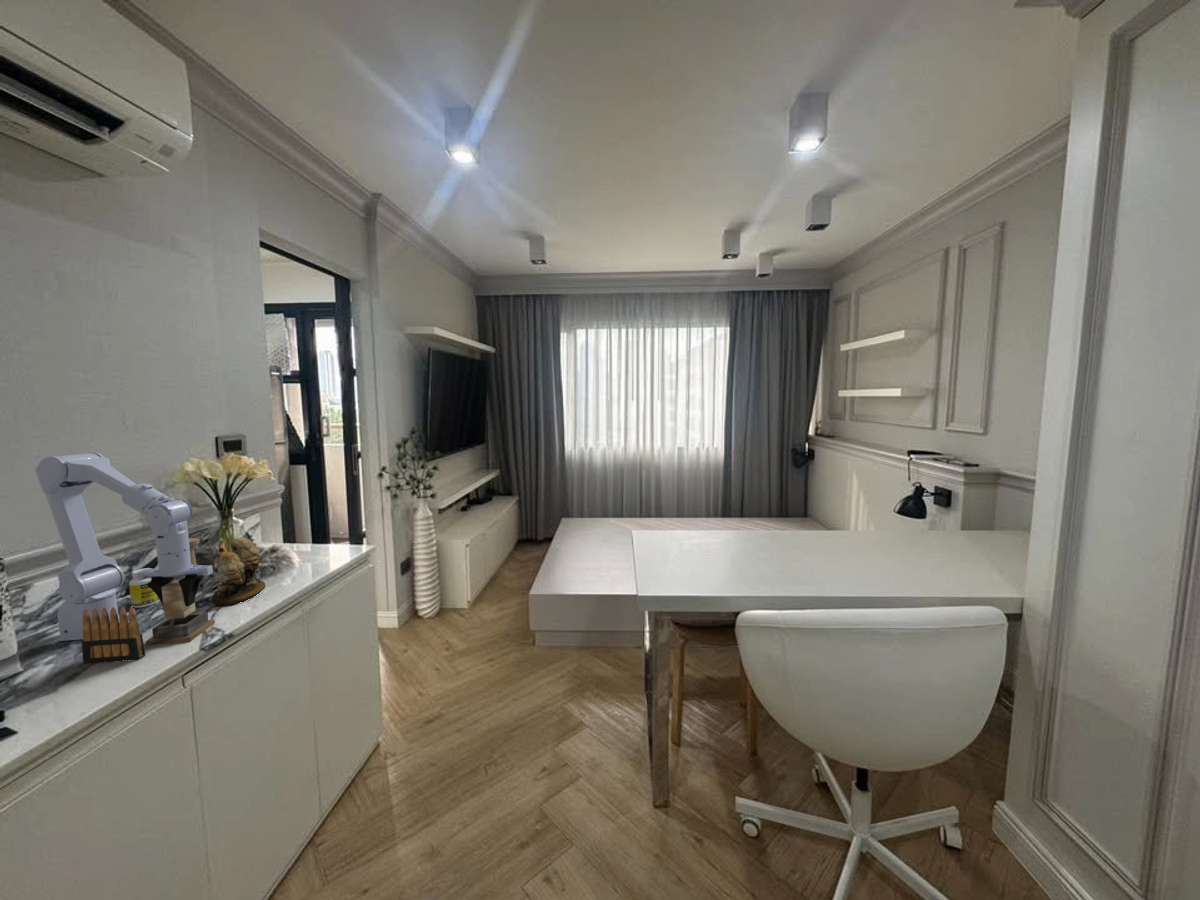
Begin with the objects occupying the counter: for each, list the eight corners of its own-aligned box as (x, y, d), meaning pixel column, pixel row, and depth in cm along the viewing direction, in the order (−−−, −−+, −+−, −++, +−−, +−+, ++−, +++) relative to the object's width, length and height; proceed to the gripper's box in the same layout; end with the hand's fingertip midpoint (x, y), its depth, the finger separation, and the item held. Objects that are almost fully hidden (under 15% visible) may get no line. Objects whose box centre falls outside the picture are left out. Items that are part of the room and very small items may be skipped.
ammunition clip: (82, 664, 99) (75, 611, 97) (91, 659, 101) (84, 607, 99) (138, 660, 100) (132, 607, 99) (145, 655, 102) (139, 604, 101)
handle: (195, 591, 137) (190, 542, 135) (172, 592, 136) (167, 543, 134) (207, 584, 141) (203, 537, 140) (185, 585, 141) (180, 538, 139)
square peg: (165, 619, 109) (161, 587, 108) (177, 611, 113) (173, 580, 112) (184, 617, 110) (180, 585, 109) (195, 610, 113) (192, 579, 113)
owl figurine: (226, 586, 141) (222, 532, 139) (272, 580, 145) (268, 528, 144) (201, 610, 124) (196, 549, 123) (254, 603, 129) (249, 544, 127)
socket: (146, 645, 106) (144, 630, 106) (174, 626, 115) (173, 613, 115) (190, 641, 108) (189, 627, 108) (214, 623, 117) (213, 610, 116)
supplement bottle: (142, 609, 125) (138, 574, 124) (126, 607, 126) (122, 573, 125) (164, 600, 130) (160, 567, 129) (148, 599, 131) (144, 566, 130)
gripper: (218, 544, 115) (223, 596, 116) (151, 547, 112) (157, 600, 113) (199, 553, 108) (205, 608, 109) (127, 557, 105) (134, 613, 106)
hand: (179, 605), depth 111 cm, fingers closed on square peg, 4 cm apart
